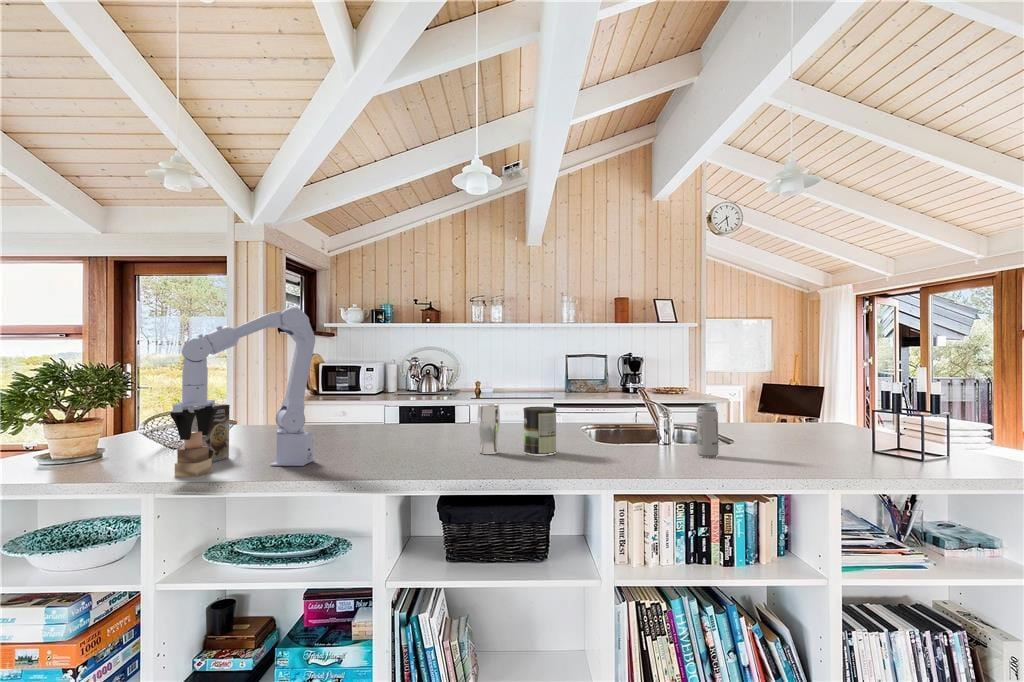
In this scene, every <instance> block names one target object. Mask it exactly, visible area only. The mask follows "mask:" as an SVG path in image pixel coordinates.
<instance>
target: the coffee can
mask: <svg viewBox="0 0 1024 682" xmlns="http://www.w3.org/2000/svg"><path fill="white" fill-rule="evenodd" d="M522 409H523V453H524V452H526V453H530V454H549V453H554V452H556V453H557V408H556V407H554V406H527V407H524V408H522Z"/></svg>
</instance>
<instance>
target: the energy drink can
mask: <svg viewBox="0 0 1024 682" xmlns="http://www.w3.org/2000/svg"><path fill="white" fill-rule="evenodd" d="M696 454H697V455H698V457H699V456H702V457H716V456H718V455H719V412H718V411H717V408H716V405H698V408H697V410H696ZM702 457H701V458H702ZM716 458H717V457H716Z"/></svg>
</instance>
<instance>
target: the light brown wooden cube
mask: <svg viewBox="0 0 1024 682" xmlns="http://www.w3.org/2000/svg"><path fill="white" fill-rule="evenodd" d="M201 447H202V431H194V432H191V437H190V440H184V448H185V449H196V448H201Z"/></svg>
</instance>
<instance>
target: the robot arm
mask: <svg viewBox="0 0 1024 682" xmlns="http://www.w3.org/2000/svg"><path fill="white" fill-rule="evenodd" d="M266 328H269V329H270V328H271V329H278V328H279V329H280V330H282V331H283V332H284V333H286V334H287V335H289V336H290V337H291V338H292V340H293V341H294V342H295V348H294V353H293V358H292V364H291V368H290V372H289V377H288V382H287V386H286V390H285V391H286V393H285V396H284V399H283V400H282V402H281V406H280V408H279V410H278V411H277V413H276V415H275V423H276V425H277V426H278V429H277V430H276V439H275V440H276V446H275V447H276V449H275V450H276V451H275V452H276V455H275V457H276V459H275V460H276V461H274V462H272V463H269V466H272V467H275V466H278V467H279V466H280V467H282V466H283V467H284V466H286V467H289V466H290V467H298V466H299V467H301V466H302V467H303V466H306V465H307V464H309V463H311V462H314V461H315V458H314V437H313V434H312V433H311V432H307V431H305V429H304V427H305V424H306V415H305V402H304V401H305V394H306V389H307V384H308V379H309V373H310V369H311V366H312V365H311V364H312V359H313V355H314V350H315V349H314V348H315V344H316V336H315V334H314V331H313V328H312V325H311V323H310V318H309V316H308V315H307V314H306V313H305V312H304V311H303V310H302V309H301V308H299V307H295V306H294V307H293V306H292V307H289V308H286V309H282V310H279V311H278V310H277V311H274V312H270V313H269V312H268V313H266V314H264V315H261V316H259V317H257V318H254V319H252V320H250V321H248V322H245V323H243V324H240V325H238V326H236V327H231V326H228V325H225V326H222V325H219V326H216V328H215V330H213V331H211V332H207V333H205V334H201V333H200V334H198V335H197V337H198V338H192V339H190V340H188V341H186V342H185V343H184V344H183V347H182V349H181V355H182V356H183V361H182V365H183V367H182V374H181V375H182V382H181V383H182V385H181V386H182V389H181V390H182V391H181V396H182V397H181V401H179V402H178V403H176V404H175V403H174V404H172V411H170V412H169V413H170V414H169V415H170V418H171V419H172V421H173V422H174V424H175V427H176V429H177V432H178V436H179V440H181V441H185V440H190V437H191V429H192V423H193V420H194V417H195V415H196V418H197V424H198V431H202V435H208V433H209V429H210V426H211V422H212V420H213V418H214V416H215V414H216V412H217V408H212V407H215V405H216V400H215V399H208V394H209V393H208V391H209V390H208V389H209V388H208V386H209V384H208V381H209V380H208V378H209V377H208V376H209V375H208V371H209V368H208V366H207V365H208V358H209V357H208V356H209V355H213V356H214V355H217V354H219V353H221V352H223V351H226V350H228V349H230V348H233V347H234V346H237V345H238V344H239V343H238V342H239V340H240V339H241V338H243V337H246V336H249V335H252V334H253V333H257V332H259V331H262V330H265V329H266ZM196 406H200V407H196ZM190 410H194V413H190Z"/></svg>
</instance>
